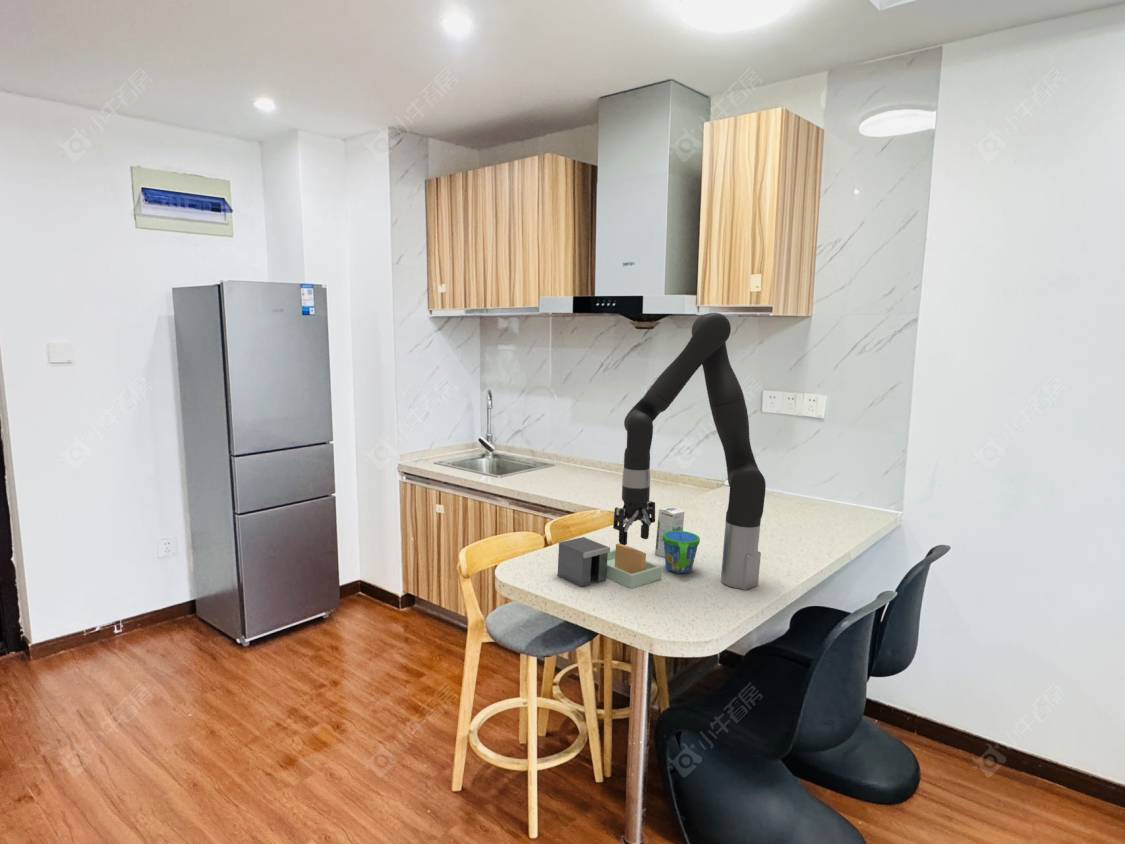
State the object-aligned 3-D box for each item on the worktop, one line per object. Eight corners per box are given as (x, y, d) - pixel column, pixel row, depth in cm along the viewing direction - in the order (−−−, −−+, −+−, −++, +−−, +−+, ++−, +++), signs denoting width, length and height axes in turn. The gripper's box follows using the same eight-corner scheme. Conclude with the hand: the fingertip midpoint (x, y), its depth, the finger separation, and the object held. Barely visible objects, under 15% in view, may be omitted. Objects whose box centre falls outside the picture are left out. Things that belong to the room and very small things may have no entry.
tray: (661, 579, 185) (661, 566, 185) (631, 588, 178) (631, 575, 177) (615, 560, 199) (615, 548, 198) (585, 568, 191) (586, 556, 191)
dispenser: (608, 581, 182) (610, 547, 181) (583, 588, 176) (585, 553, 175) (581, 569, 190) (583, 536, 189) (557, 575, 184) (559, 542, 183)
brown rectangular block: (644, 577, 183) (646, 553, 182) (640, 579, 182) (642, 554, 181) (618, 566, 191) (620, 543, 190) (614, 567, 189) (615, 544, 188)
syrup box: (666, 550, 209) (669, 505, 207) (681, 556, 205) (684, 510, 203) (654, 554, 205) (657, 508, 203) (670, 559, 201) (673, 513, 199)
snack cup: (698, 581, 185) (700, 546, 183) (659, 577, 187) (662, 542, 185) (696, 562, 200) (699, 529, 199) (661, 558, 202) (663, 526, 200)
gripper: (628, 490, 175) (625, 550, 177) (663, 483, 184) (661, 539, 186) (607, 484, 180) (606, 542, 182) (643, 478, 190) (641, 533, 192)
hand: (634, 541), depth 184 cm, fingers open, 8 cm apart
